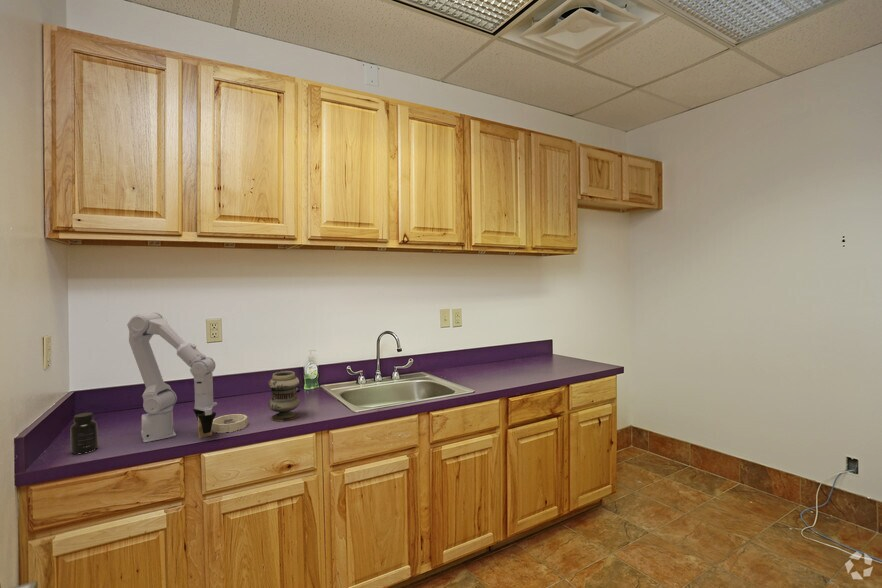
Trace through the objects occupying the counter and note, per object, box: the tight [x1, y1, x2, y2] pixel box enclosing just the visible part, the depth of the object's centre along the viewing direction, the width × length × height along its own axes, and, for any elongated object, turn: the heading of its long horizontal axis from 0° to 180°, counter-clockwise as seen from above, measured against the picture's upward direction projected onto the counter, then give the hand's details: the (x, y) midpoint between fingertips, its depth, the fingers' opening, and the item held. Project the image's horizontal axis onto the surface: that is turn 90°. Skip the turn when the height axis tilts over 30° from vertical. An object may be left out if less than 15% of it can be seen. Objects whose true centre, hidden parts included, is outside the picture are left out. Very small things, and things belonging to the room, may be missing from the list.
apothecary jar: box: [267, 370, 301, 422], centre depth 171 cm, size 12×12×18 cm
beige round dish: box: [212, 413, 249, 434], centre depth 161 cm, size 12×12×3 cm
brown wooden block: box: [197, 417, 213, 439], centre depth 152 cm, size 4×2×8 cm, turn 130°
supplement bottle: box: [69, 412, 99, 455], centre depth 139 cm, size 7×7×12 cm
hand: (204, 430), depth 152 cm, fingers open, 6 cm apart
